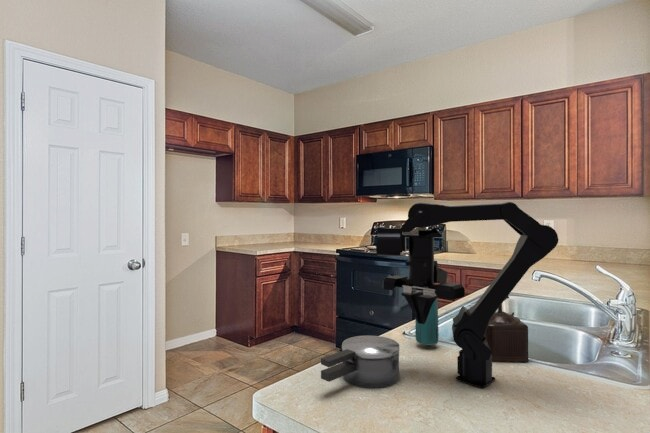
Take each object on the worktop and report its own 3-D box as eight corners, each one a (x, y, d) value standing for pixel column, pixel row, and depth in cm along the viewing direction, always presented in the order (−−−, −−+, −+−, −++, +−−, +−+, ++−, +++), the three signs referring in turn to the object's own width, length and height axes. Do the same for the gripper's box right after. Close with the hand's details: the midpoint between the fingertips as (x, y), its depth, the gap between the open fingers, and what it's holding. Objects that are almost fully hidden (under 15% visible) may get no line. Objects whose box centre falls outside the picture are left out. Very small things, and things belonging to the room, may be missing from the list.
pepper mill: (532, 363, 98) (532, 291, 98) (487, 362, 99) (486, 291, 99) (508, 343, 113) (508, 281, 113) (469, 342, 114) (469, 280, 114)
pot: (410, 376, 90) (410, 350, 90) (348, 407, 76) (347, 376, 76) (364, 360, 101) (364, 337, 100) (301, 385, 86) (301, 358, 86)
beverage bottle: (439, 351, 107) (439, 278, 107) (415, 349, 108) (414, 277, 108) (437, 343, 113) (437, 274, 113) (414, 342, 115) (414, 273, 114)
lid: (410, 348, 90) (410, 343, 90) (348, 375, 76) (348, 369, 76) (367, 336, 100) (367, 331, 100) (304, 357, 85) (304, 351, 85)
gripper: (476, 256, 90) (476, 324, 90) (407, 251, 103) (408, 310, 103) (451, 261, 82) (452, 335, 82) (381, 254, 96) (381, 318, 96)
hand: (421, 323), depth 91 cm, fingers closed
